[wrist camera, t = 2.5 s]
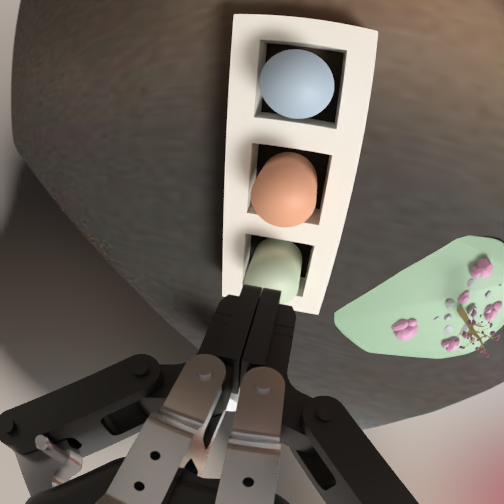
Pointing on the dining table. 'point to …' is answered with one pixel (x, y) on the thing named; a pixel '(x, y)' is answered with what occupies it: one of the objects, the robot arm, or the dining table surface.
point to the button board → (292, 144)
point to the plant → (433, 304)
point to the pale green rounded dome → (276, 267)
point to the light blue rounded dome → (296, 84)
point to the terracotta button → (285, 190)
